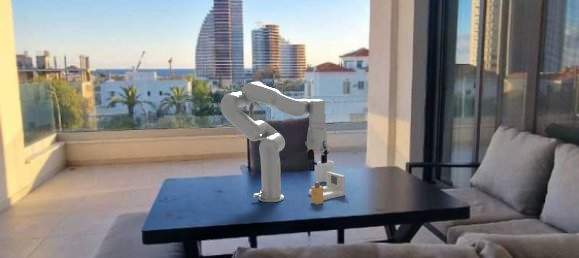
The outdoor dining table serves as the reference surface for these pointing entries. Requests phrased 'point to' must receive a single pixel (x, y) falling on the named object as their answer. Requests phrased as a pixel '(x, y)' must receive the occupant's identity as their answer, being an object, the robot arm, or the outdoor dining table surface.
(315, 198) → the plug
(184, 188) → the outdoor dining table surface
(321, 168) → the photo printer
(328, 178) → the socket
